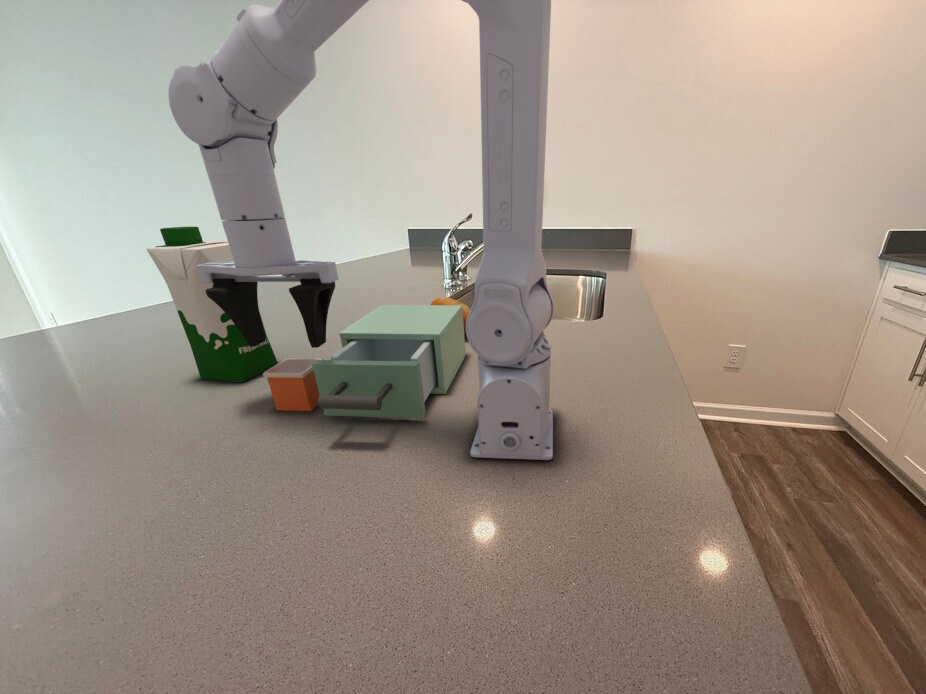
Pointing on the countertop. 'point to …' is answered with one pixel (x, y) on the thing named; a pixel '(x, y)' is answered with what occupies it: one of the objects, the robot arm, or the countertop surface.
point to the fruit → (453, 302)
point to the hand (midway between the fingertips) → (288, 344)
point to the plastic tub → (294, 384)
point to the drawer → (377, 378)
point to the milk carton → (207, 308)
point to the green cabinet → (418, 333)
